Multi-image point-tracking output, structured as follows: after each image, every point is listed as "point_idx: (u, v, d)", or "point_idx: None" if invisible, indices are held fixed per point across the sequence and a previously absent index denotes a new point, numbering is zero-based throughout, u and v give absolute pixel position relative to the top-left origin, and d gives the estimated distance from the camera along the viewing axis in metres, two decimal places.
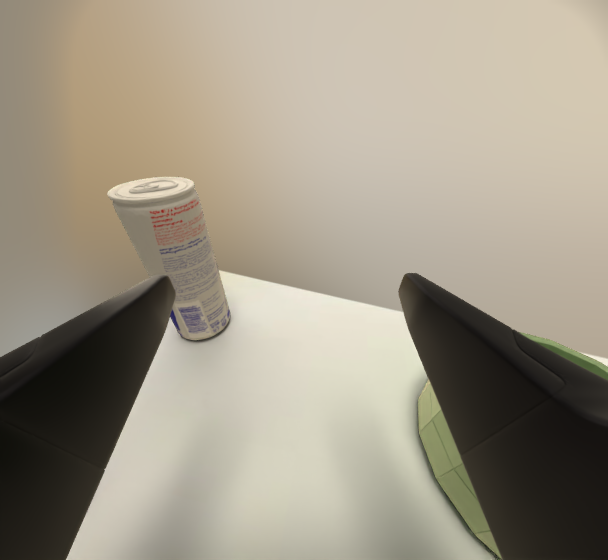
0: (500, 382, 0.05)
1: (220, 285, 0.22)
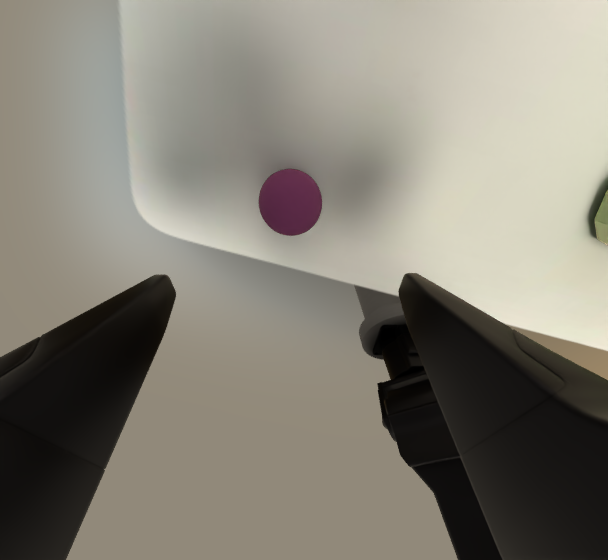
0: (501, 382, 0.05)
1: None
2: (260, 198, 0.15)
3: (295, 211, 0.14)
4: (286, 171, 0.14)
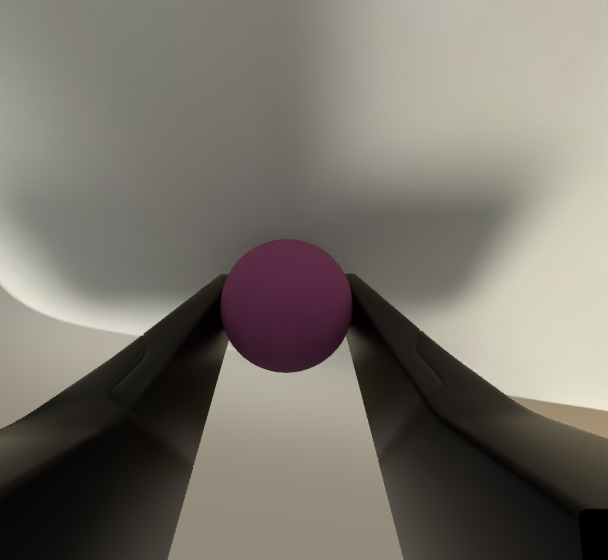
0: (396, 384, 0.05)
1: None
2: (221, 308, 0.07)
3: (299, 353, 0.06)
4: (277, 256, 0.06)
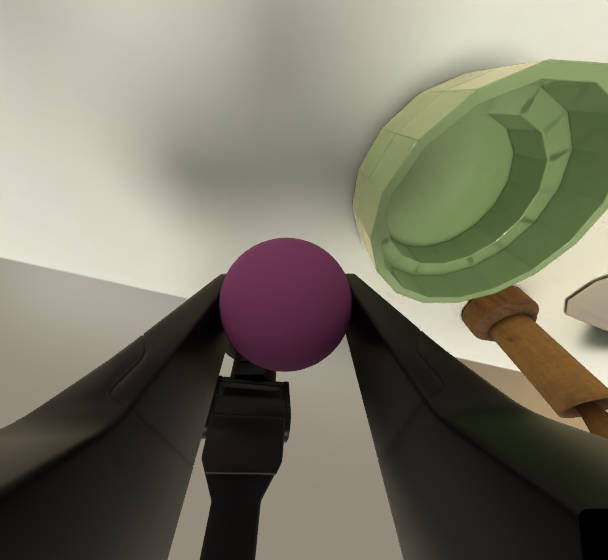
0: (396, 385, 0.05)
1: None
2: (220, 306, 0.07)
3: (297, 352, 0.06)
4: (276, 254, 0.06)
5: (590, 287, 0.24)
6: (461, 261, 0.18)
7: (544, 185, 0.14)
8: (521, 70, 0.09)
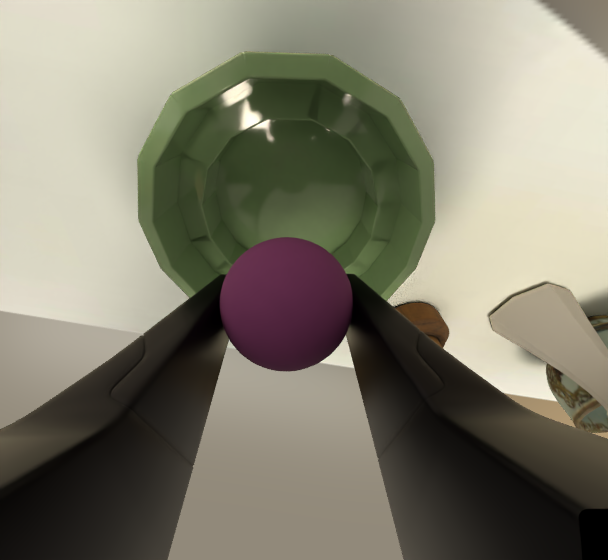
0: (396, 384, 0.05)
1: None
2: (220, 306, 0.07)
3: (299, 351, 0.06)
4: (277, 253, 0.06)
5: (509, 302, 0.22)
6: None
7: (381, 200, 0.12)
8: (217, 67, 0.07)
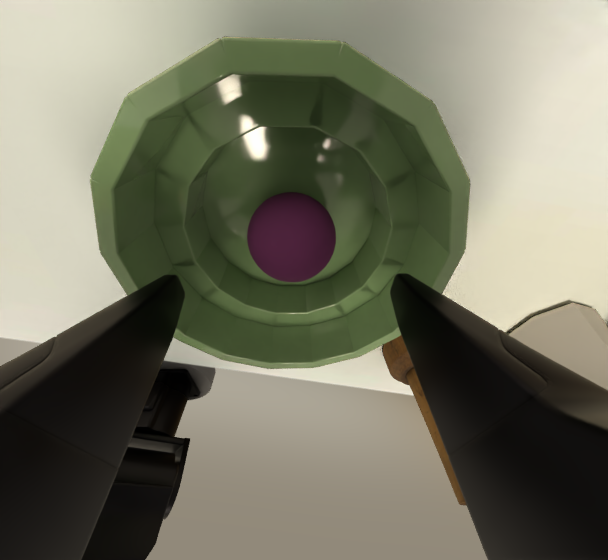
0: (485, 382, 0.05)
1: None
2: (250, 236, 0.10)
3: (303, 256, 0.10)
4: (287, 197, 0.10)
5: (528, 322, 0.20)
6: (328, 310, 0.14)
7: (396, 220, 0.10)
8: (187, 59, 0.05)
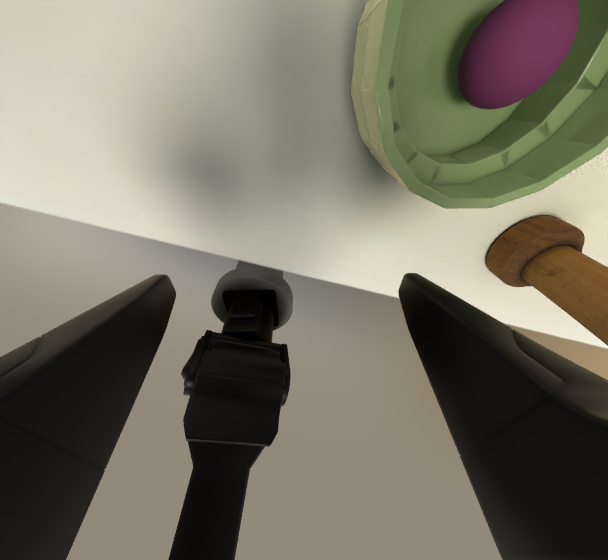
0: (500, 382, 0.05)
1: None
2: (513, 30, 0.10)
3: (571, 41, 0.10)
4: None
5: None
6: (493, 160, 0.14)
7: None
8: None
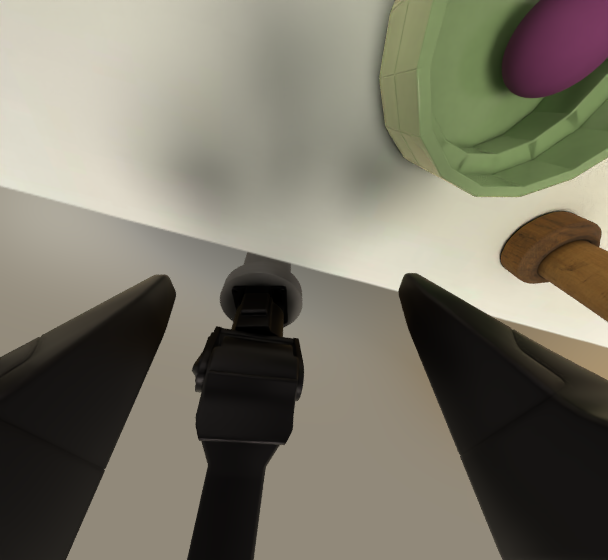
0: (500, 382, 0.05)
1: None
2: (594, 11, 0.09)
3: None
4: None
5: None
6: (520, 150, 0.14)
7: None
8: None
